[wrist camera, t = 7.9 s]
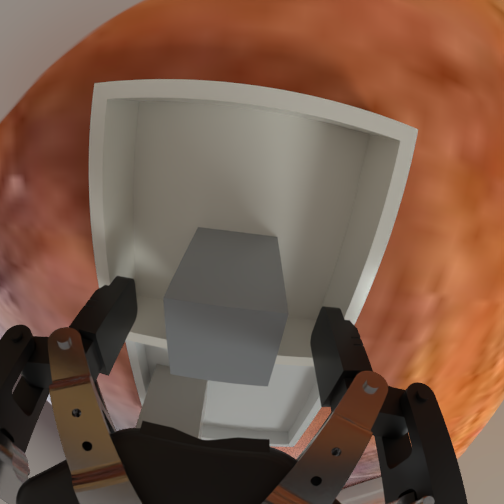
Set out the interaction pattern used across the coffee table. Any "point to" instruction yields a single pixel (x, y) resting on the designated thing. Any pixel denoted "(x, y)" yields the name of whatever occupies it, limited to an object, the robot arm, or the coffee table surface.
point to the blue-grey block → (226, 308)
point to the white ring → (363, 493)
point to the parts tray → (244, 400)
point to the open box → (243, 191)
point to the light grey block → (175, 402)
